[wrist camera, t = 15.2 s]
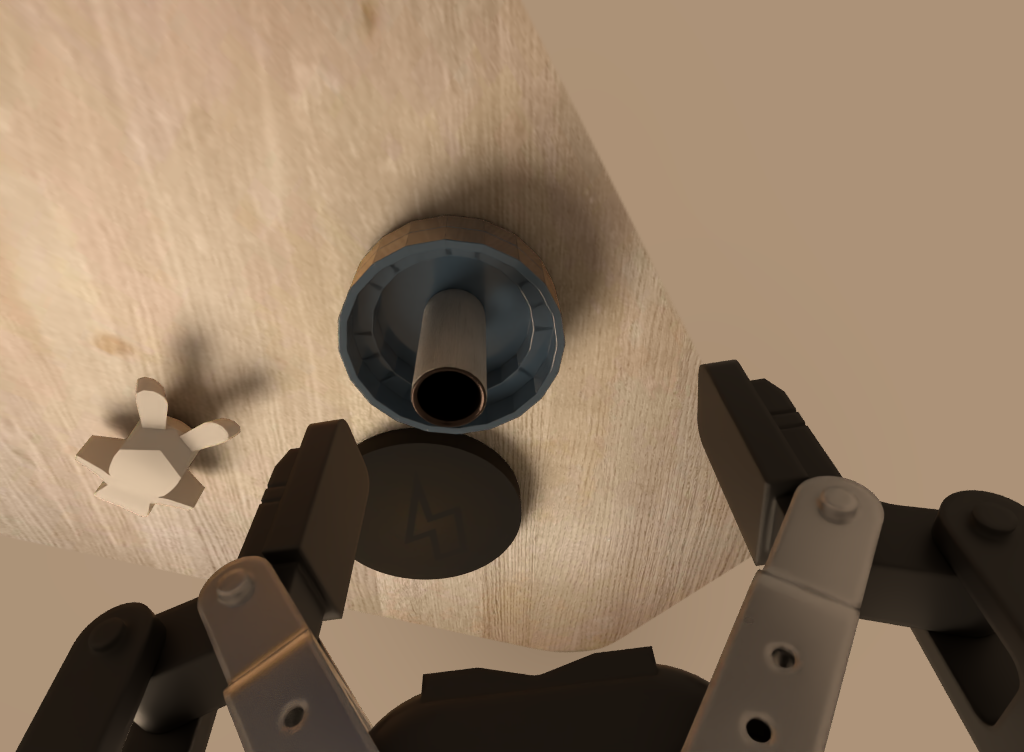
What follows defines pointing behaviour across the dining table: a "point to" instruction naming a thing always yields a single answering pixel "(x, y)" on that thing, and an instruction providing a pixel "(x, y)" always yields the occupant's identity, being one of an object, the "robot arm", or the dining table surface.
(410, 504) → the wireless charger
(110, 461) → the bunny figurine
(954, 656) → the robot arm
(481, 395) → the grey hollow cylinder
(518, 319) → the bowl
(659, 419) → the dining table surface
